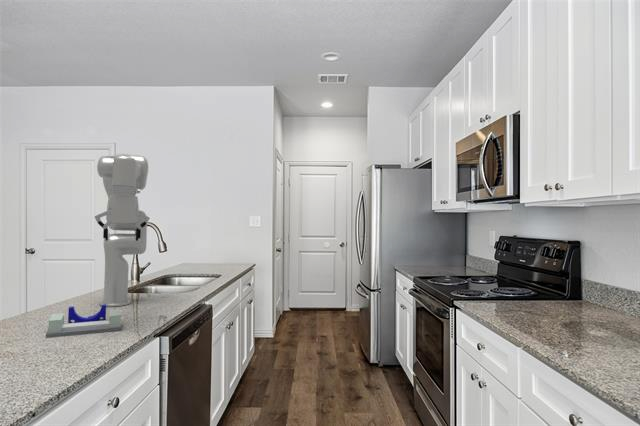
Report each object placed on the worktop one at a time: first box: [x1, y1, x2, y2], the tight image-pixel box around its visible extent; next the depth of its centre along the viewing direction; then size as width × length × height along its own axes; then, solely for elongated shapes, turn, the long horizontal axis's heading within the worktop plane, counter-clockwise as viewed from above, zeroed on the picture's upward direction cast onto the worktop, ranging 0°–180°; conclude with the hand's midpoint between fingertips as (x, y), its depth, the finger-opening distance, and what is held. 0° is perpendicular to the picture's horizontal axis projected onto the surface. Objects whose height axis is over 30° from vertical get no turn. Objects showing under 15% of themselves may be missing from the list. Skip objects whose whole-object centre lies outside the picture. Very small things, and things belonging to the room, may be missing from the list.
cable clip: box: [67, 304, 107, 324], centre depth 150 cm, size 12×4×6 cm, turn 118°
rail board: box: [45, 308, 123, 339], centre depth 139 cm, size 12×22×5 cm, turn 118°
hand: (122, 240), depth 141 cm, fingers open, 9 cm apart
